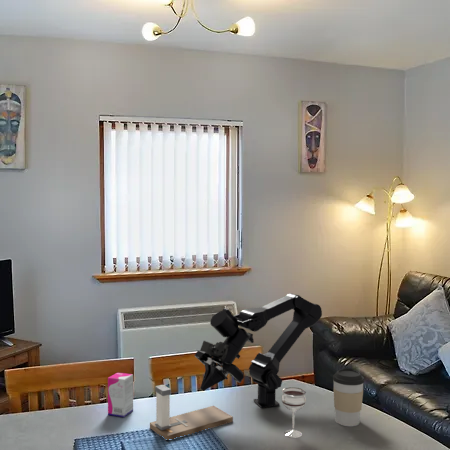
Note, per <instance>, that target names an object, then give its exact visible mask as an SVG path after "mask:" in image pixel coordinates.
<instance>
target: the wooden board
mask: <svg viewBox="0 0 450 450" xmlns="http://www.w3.org/2000/svg"><path fill="white" fill-rule="evenodd" d="M233 422H234V417H233V416H232V415H231V414H229V413H227V412H226V411H225V410H222V409H221V408H218V407H217V406H215V405H210V406H207V407H203V408H200V409H196V410H192V411H188V412H184V413H181V414H177V415H174V416H170V425H171V428H168V429H165V430H160V429H159V428H158V427H156V426H155V423H156V420H155V421H152V422H149V429H150V430H152V431H154V432H155V434H157V435H158V434H159V435H158V436H160V435H161V436H163V437H164V438H165V439H167V440H169V439H173V440H175V439H174V438H176V437H180V436H183V437H185V436H184V435H187V436H189V435H188V434H190V435H193V434H196V433H195V432H197V433H199V431H200V432H203V431H202V430H204V431H206V430H205V429H207V430H209V429H208V428H210V429H214V428H216V427H220V426H223V425H226V424H230V423H233ZM192 433H193V434H192ZM161 436H160V437H161ZM180 438H181V437H180ZM165 439H164V440H165Z"/></svg>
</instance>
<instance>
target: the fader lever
mask: <svg viewBox="0 0 450 450" xmlns="http://www.w3.org/2000/svg"><path fill="white" fill-rule="evenodd" d="M154 386H155V387H154V391H155V393H156V394H155V395H156V398H155V399H156V400H155V402H156V404H155V405H156V406H155V407H156V413H155V415H156V416H155V417H156V418H155V421H156V423H155V426H156V427H158V428H159V429H160V430H165V429H168V428H171V425H170V417H171V415H170V411H171V410H170V408H171V406H170V403H171V402H170V401H171V399H170V398H171V397H170V396H171V395H172V389H171V388H169V387H167V386H166V385H164V384H160V385H154Z"/></svg>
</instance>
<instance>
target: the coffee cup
mask: <svg viewBox="0 0 450 450" xmlns="http://www.w3.org/2000/svg"><path fill="white" fill-rule="evenodd" d="M332 380H333V389H332V390H333V405H334V413H335V414H334V415H335V417H334V418H335V419H334V420H335V422H336V423H337V424H338V425H340V426H344V427H356V426H358V425H360V422H361V421H360V419H361V411H362V406H363V397H364V383H365V377H364V376H363V375H361V372H359V371H357V370H355V369H353V368H351V367H345V368H342V369H338V370H337V371H336V372H335V373H334V374H333V375H332Z"/></svg>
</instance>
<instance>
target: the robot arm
mask: <svg viewBox="0 0 450 450" xmlns="http://www.w3.org/2000/svg"><path fill="white" fill-rule="evenodd" d="M291 310H292V311H293V317H292V320H291V322H290V323H289V324H288V325H287V327H286V328H284V330H283V332H282V333H281V334H280V336H279V337H278V339H277V340H276V341H275V342H274V343H273V345H272V346H271V347H270V349H269V350H268V351H267V352H265V353H261V352H258V353H257V354H256V356H255V358H253V359H252V360H251V361H250V365H249V369H248V371H249V372H248V374H249V376H250V378H251V380H252V382H253V383H254V384H257V398H253V402H254V403H255V404H256V405H258V407H260V408H261V409H265V408H271V407H272V408H273V407H279V406H280V405H281V404H280V402H278V400H277V399H276V398H277V397H276V396H277V395H276V393H277V391H276V390H278V388H281V387H282V383H283V379H282V378H281V377H280V376H279V375H278V373H279V371H280V365H281V364H280V363H281V361H283V359H284V358H285V356H286V355H287V353H288V352H289V350H291V348H292V347H293V346H294V344H295V343H296V342H297V341H298V339H299V338H300V336H301V335H302V334H303V333H304V331H306V329H308V328H310V327H312V326H314V325H315V324H316V323H317V322H319V320H320V319H321V318H322V315H323V310H322V307H321V305H319V304H317V303H313V302H310V301H309V300H307V299H305V298H303V297H302V296H301V295H299V294H294V293H287V294H286V295H284V296H282V297H281V298H278V299H276V300H274V301H271V302H269V303H266V304H265V305H263V306H258V307H249V308H246V309H243V310H241V311H240V312H239V313H238V314H234V315H233V314H232V312H231V310H229V309H228V308H223V309H222V310H220V311H218V312H216V313H215V314H214V315H212V317H211V319H210V325H211V326H212V328H213V329H214V330H215V331H216V332H218V334H219V335H221V336H222V337H223V338H225V339H224V340H223V341H219V342H215V343H213V342H209V341H206V340H203V342H202V344H201V346H200V349H199V350H197V351H196V353H195V354H194V357H195V358H196V359H197V360H199V362H200V363H202V364H203V366H204V369H205V370H204V375H203V378H202V382H201V384H200V390H201V391H202V392H203V391H206V390H208V389H210V388H212V387H213V386H215V385H217V384H218V383H220V382H222V381H225V380H228V375H229V374H230V375H231V376H232V378H233V380H234V381H235V382H237V383H239V384H241V383H242V381H243V379H245V373H244V372H243V371H242V370H241V369H240V368H239V367H238V366H237V365H236V364H234V361H235V359H240V358H241V355H240V353H241V351H242V349H243V348H244V347H245V345H246V344H247V342H248V343H251V344H254V343H255V342H254V337H253V335H254V334H253V333H252V332H259V330H261V329H262V328H264V327H266V325H267V324H268V322H269V321H270V320H272V319H274V318H276V317H278V316H280V315H283V314H285V313H287V312H289V311H291ZM247 330H248V331H250V332H248V331H247Z"/></svg>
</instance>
